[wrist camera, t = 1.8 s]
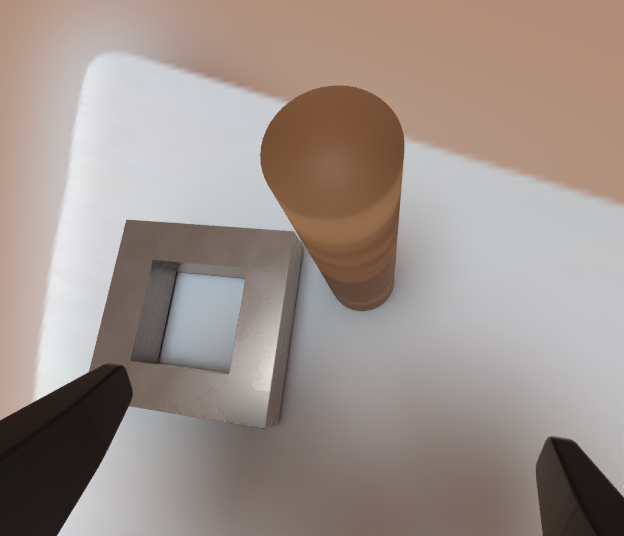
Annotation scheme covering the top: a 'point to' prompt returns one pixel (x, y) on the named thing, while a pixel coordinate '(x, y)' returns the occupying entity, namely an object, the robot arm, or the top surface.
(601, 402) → the top surface
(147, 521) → the top surface
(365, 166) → the walnut pin
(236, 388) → the square hole frame
